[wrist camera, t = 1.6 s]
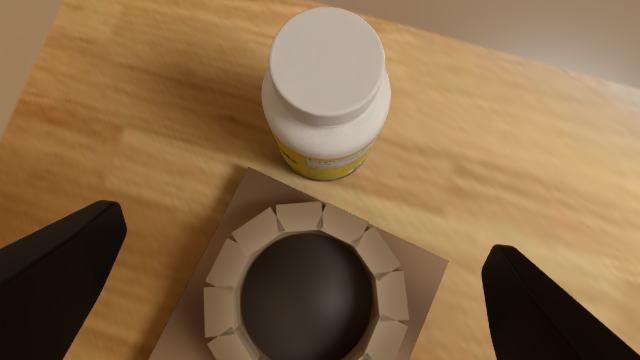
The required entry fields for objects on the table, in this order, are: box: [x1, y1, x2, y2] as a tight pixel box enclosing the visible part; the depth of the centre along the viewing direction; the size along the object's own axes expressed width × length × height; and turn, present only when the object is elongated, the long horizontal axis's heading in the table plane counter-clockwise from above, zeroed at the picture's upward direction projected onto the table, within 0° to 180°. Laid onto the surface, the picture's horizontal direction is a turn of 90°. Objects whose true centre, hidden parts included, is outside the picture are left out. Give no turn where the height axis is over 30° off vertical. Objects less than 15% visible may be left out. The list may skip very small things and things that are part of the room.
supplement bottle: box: [261, 7, 391, 182], centre depth 17 cm, size 5×5×10 cm
